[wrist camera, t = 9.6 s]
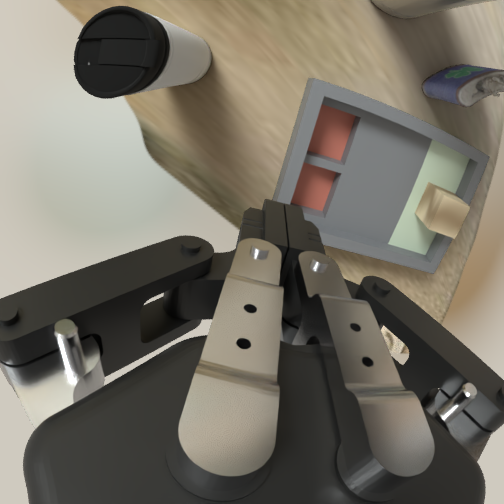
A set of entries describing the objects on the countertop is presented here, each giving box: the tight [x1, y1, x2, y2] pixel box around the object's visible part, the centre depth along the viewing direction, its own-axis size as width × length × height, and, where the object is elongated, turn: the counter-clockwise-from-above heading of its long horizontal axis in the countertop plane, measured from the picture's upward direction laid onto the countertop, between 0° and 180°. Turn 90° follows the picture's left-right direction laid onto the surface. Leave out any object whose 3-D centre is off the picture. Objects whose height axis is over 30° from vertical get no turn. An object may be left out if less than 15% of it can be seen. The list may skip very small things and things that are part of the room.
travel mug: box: [74, 6, 212, 98], centre depth 23 cm, size 6×7×20 cm
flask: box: [422, 64, 504, 107], centre depth 26 cm, size 9×3×11 cm, turn 120°
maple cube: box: [415, 182, 470, 239], centre depth 35 cm, size 4×4×4 cm
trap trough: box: [273, 78, 489, 274], centre depth 36 cm, size 18×24×4 cm
